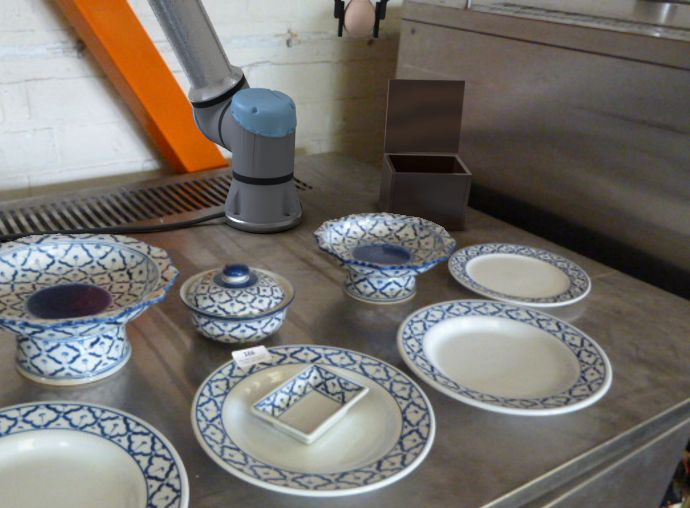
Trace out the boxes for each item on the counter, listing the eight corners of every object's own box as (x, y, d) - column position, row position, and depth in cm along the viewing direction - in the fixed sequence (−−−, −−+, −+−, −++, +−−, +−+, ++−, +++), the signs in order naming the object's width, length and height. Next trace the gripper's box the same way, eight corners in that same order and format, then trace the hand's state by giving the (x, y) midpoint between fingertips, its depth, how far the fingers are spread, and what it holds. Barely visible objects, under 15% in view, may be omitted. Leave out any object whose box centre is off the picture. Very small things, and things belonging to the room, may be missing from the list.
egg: (379, 38, 136) (384, -4, 132) (361, 41, 132) (365, -3, 128) (352, 35, 140) (356, -7, 136) (334, 37, 135) (337, -6, 131)
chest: (462, 230, 125) (472, 175, 120) (385, 228, 125) (392, 173, 120) (449, 206, 136) (457, 155, 131) (378, 204, 136) (383, 153, 131)
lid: (465, 80, 126) (458, 82, 131) (389, 78, 127) (385, 81, 132) (458, 152, 130) (452, 152, 135) (384, 151, 130) (380, 150, 135)
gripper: (318, -98, 121) (310, 37, 132) (424, -95, 121) (408, 40, 132) (316, -96, 127) (309, 33, 139) (417, -94, 127) (402, 35, 139)
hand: (357, 36), depth 135 cm, fingers closed on egg, 7 cm apart
